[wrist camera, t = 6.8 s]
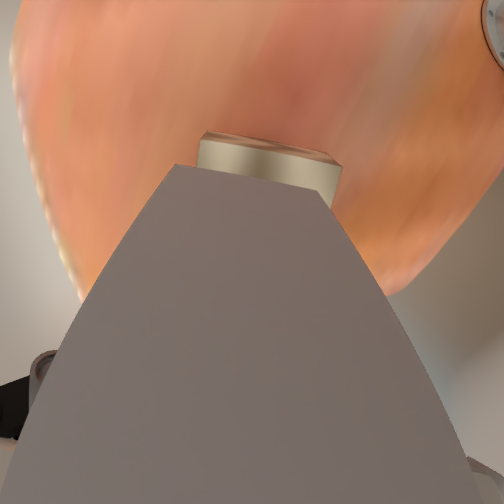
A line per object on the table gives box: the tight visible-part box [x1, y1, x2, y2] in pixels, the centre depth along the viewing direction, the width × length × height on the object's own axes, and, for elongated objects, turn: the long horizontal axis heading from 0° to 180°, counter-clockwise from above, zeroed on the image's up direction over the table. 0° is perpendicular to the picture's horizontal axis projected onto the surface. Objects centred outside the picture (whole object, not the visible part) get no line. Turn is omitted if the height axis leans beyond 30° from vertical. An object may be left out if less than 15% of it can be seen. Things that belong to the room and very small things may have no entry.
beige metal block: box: [196, 130, 343, 209], centre depth 31 cm, size 12×12×6 cm
